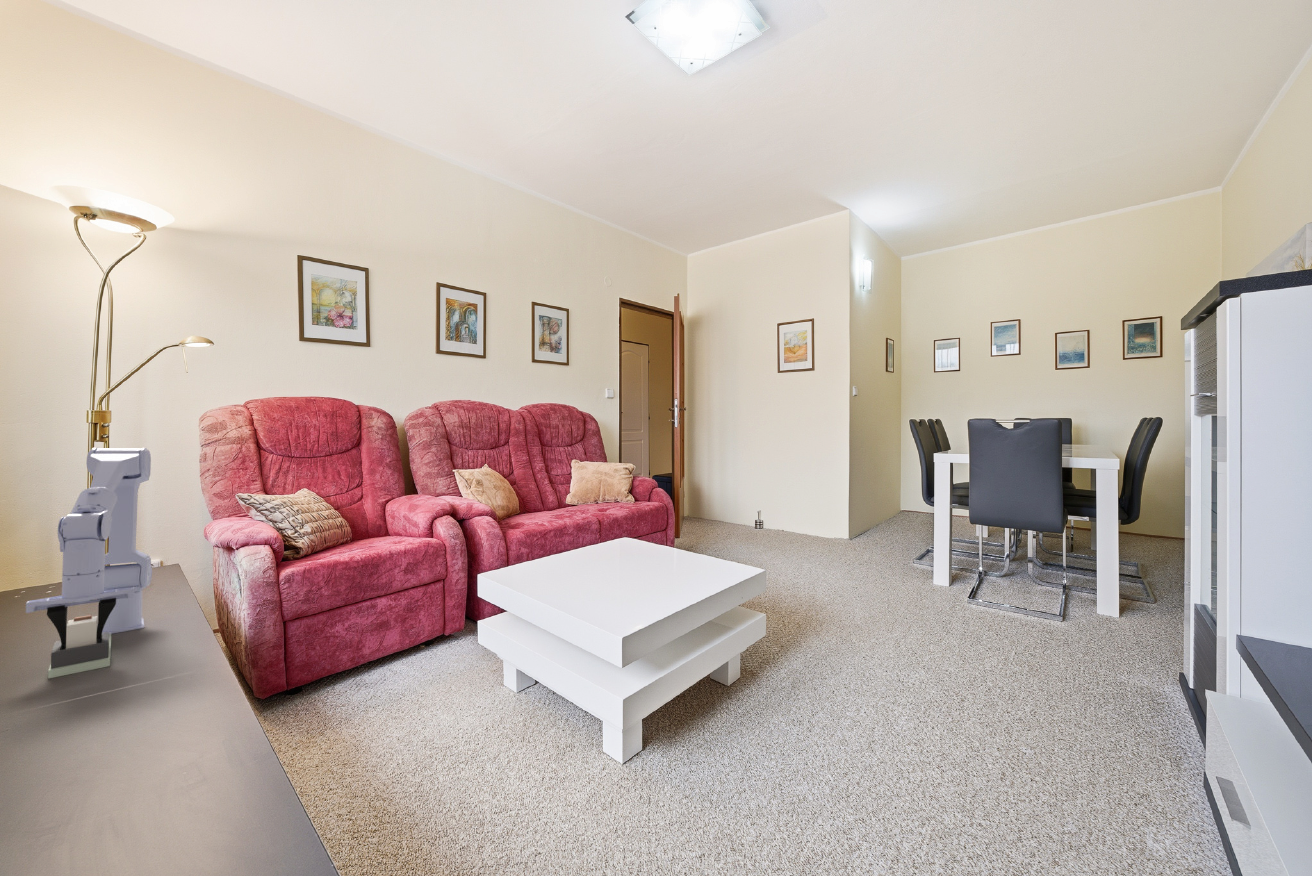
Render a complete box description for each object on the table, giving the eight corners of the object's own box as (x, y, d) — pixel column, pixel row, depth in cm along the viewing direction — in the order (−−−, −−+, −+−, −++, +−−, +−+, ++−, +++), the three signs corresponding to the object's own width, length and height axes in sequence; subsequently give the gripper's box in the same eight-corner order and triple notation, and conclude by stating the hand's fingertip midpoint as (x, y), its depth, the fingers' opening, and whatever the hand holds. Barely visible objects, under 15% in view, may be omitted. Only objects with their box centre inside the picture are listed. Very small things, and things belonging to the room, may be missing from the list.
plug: (67, 650, 104) (68, 617, 104) (96, 645, 107) (97, 613, 107) (65, 657, 101) (66, 623, 101) (95, 651, 103) (96, 618, 104)
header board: (57, 650, 111) (57, 629, 111) (111, 640, 117) (111, 620, 117) (48, 678, 97) (48, 654, 97) (109, 665, 103) (110, 643, 103)
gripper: (24, 582, 96) (22, 656, 96) (135, 569, 106) (133, 636, 106) (29, 576, 101) (27, 646, 101) (134, 564, 111) (132, 627, 111)
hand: (81, 640), depth 104 cm, fingers closed on plug, 4 cm apart
